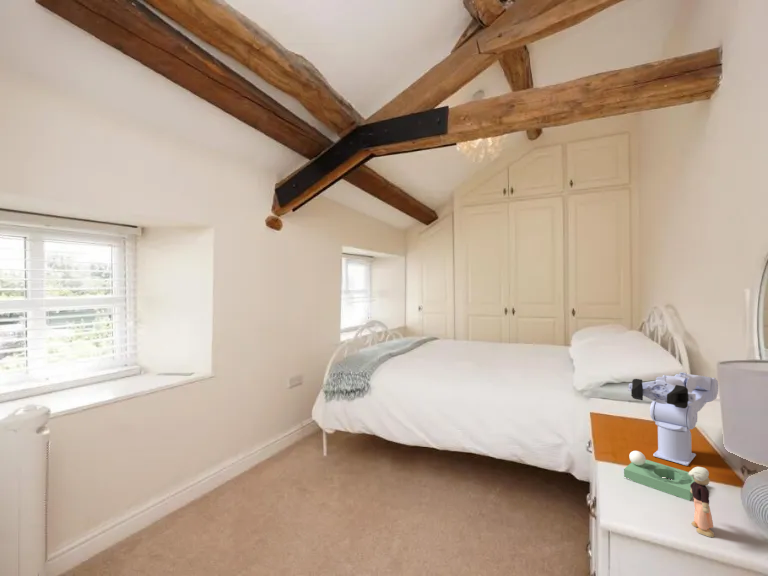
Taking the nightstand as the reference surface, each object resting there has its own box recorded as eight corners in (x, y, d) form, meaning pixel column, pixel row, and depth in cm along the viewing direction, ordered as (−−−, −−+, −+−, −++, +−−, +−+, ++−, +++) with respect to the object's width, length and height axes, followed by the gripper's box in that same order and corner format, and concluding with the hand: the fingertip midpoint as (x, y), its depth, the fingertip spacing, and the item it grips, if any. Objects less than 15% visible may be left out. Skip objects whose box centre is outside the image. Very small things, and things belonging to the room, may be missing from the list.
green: (637, 465, 103) (637, 456, 103) (700, 485, 92) (700, 475, 92) (624, 478, 97) (624, 469, 97) (689, 500, 86) (689, 490, 86)
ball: (632, 460, 101) (631, 447, 101) (647, 465, 98) (647, 451, 98) (627, 464, 99) (626, 451, 99) (643, 469, 96) (642, 455, 96)
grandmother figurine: (725, 541, 73) (724, 477, 73) (702, 539, 73) (701, 475, 73) (700, 517, 80) (699, 458, 80) (680, 515, 81) (679, 457, 81)
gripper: (636, 371, 109) (618, 375, 101) (700, 380, 98) (685, 385, 90) (636, 395, 109) (618, 401, 101) (699, 407, 98) (685, 415, 89)
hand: (650, 396), depth 95 cm, fingers open, 7 cm apart
